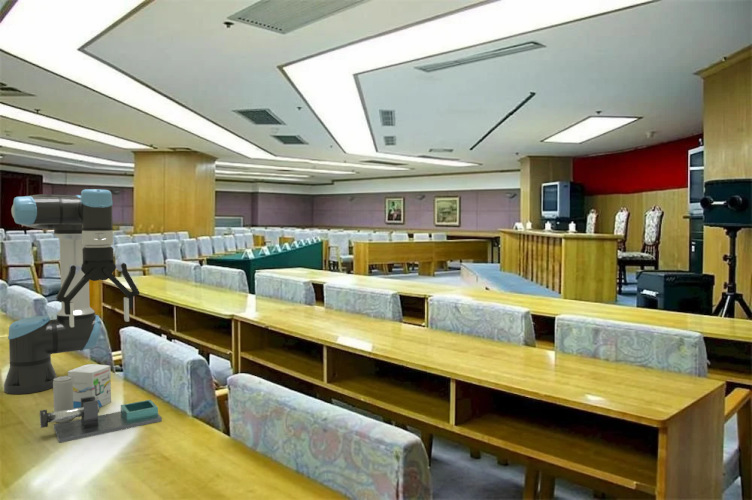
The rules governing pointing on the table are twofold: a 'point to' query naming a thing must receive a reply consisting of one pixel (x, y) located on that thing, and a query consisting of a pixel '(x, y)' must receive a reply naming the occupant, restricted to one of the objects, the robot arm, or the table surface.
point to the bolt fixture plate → (106, 419)
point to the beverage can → (63, 394)
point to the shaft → (59, 415)
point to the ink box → (91, 383)
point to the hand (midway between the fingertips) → (100, 323)
